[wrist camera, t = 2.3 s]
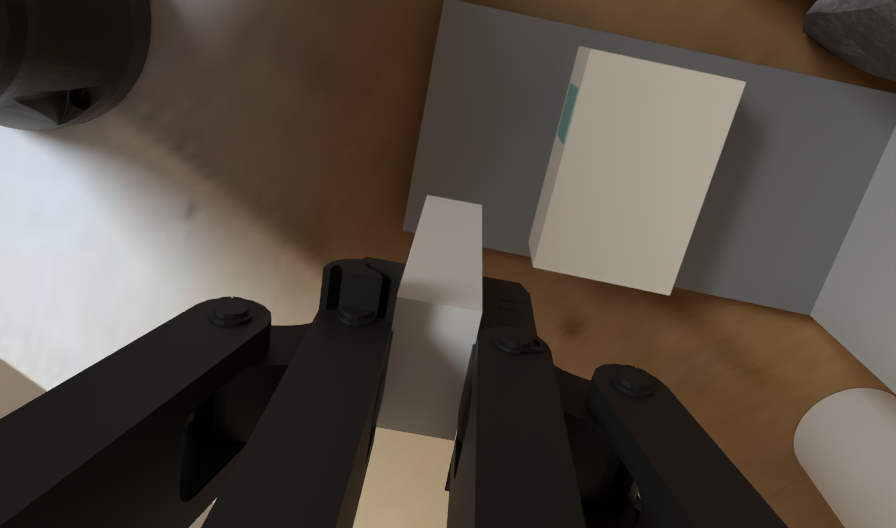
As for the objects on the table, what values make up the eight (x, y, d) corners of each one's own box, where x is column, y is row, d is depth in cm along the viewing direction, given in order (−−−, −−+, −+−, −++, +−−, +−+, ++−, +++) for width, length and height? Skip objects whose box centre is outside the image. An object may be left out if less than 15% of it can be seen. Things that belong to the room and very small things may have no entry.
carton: (527, 241, 40) (532, 266, 36) (578, 45, 36) (590, 48, 32) (651, 267, 40) (670, 295, 36) (716, 75, 36) (746, 81, 32)
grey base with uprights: (405, 221, 42) (376, 293, 31) (446, -2, 37) (427, -11, 26) (842, 312, 43) (966, 414, 32) (940, 103, 38) (1129, 138, 27)
